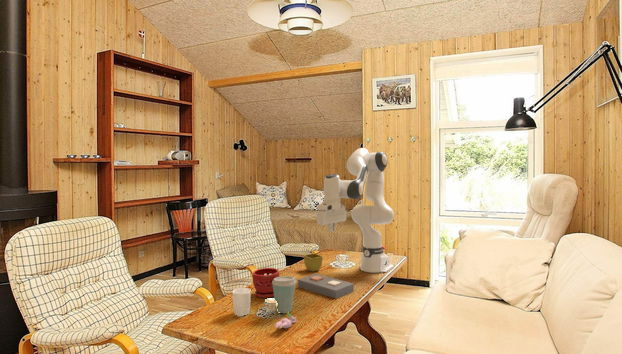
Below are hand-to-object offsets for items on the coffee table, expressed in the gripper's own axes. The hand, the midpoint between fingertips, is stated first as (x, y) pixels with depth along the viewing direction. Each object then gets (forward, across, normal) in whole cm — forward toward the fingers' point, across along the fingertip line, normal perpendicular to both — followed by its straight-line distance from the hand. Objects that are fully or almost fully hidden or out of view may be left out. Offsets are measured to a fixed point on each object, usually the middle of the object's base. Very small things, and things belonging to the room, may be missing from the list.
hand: (332, 231), depth 197 cm
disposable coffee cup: (+29, +40, +6) cm, 50 cm away
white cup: (+29, +54, -6) cm, 62 cm away
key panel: (+29, +6, 0) cm, 30 cm away
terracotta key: (+27, +6, -6) cm, 28 cm away
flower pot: (+29, -15, -28) cm, 43 cm away
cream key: (+27, +6, +6) cm, 28 cm away
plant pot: (+29, +32, -16) cm, 46 cm away
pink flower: (+29, +50, +18) cm, 61 cm away
